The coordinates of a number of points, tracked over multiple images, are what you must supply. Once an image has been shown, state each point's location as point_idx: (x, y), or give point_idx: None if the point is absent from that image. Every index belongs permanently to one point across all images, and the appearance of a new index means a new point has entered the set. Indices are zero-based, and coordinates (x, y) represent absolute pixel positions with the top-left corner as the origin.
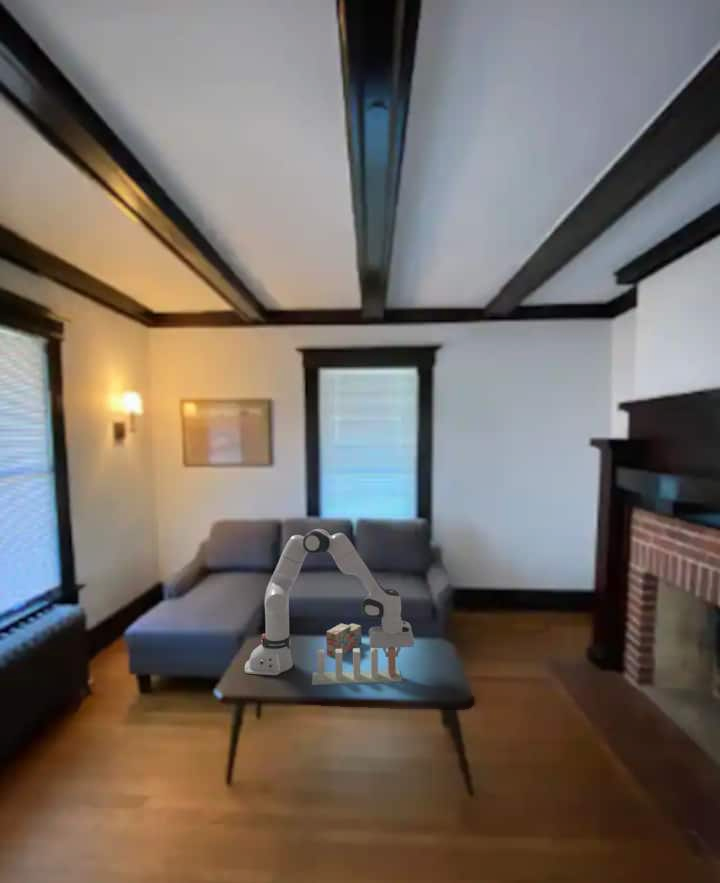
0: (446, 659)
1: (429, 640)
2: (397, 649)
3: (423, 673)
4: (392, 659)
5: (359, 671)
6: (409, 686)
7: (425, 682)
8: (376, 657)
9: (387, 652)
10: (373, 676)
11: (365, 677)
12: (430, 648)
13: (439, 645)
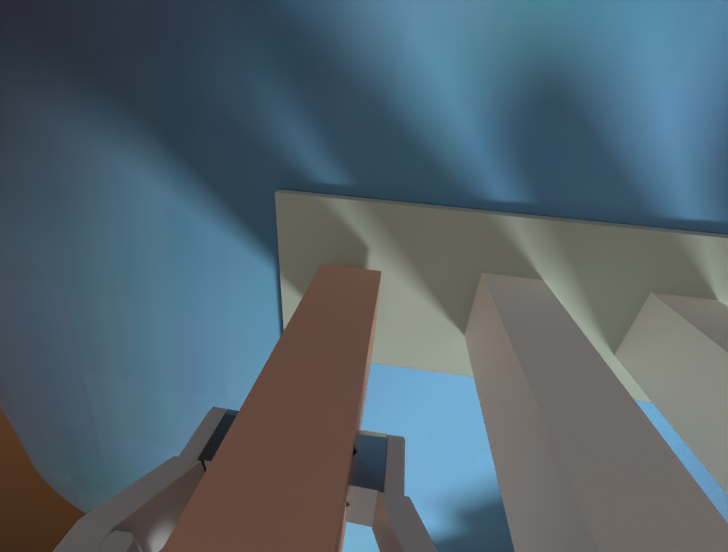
0: (11, 389)
1: None
2: (170, 529)
3: (117, 280)
4: (307, 373)
5: (714, 335)
6: (217, 95)
7: (82, 146)
8: (582, 450)
9: (359, 508)
10: (528, 284)
11: (590, 300)
12: (114, 481)
13: (76, 489)
